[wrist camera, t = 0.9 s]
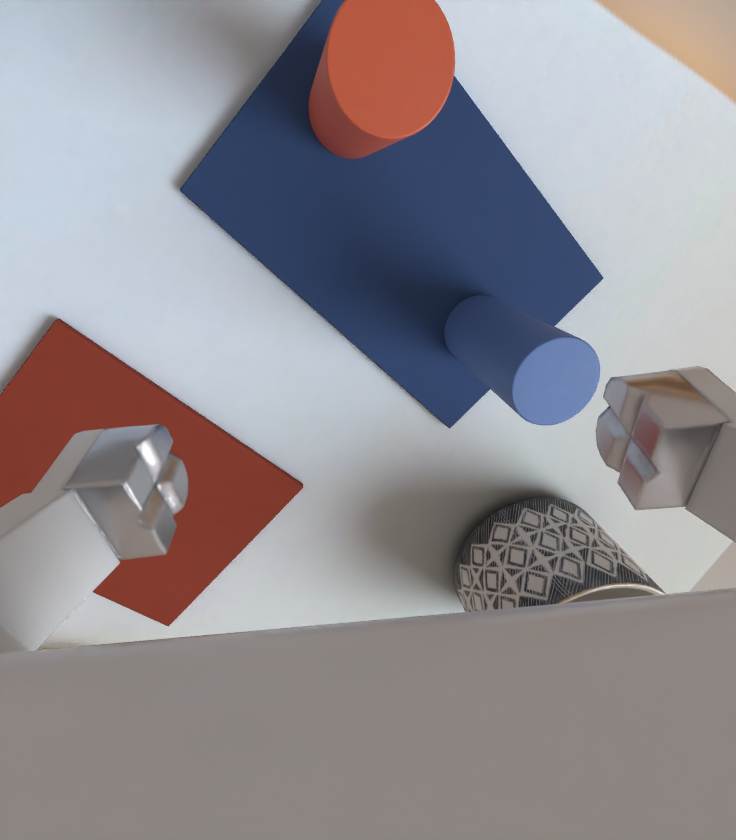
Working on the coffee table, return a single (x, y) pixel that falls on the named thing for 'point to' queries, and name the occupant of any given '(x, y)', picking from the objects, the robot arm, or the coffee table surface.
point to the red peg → (381, 74)
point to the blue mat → (389, 224)
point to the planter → (544, 560)
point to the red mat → (192, 442)
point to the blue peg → (523, 359)
